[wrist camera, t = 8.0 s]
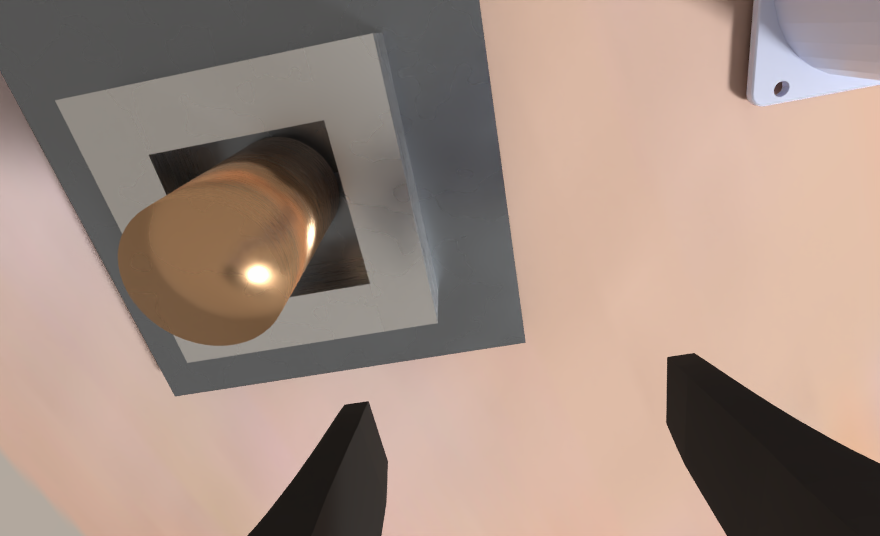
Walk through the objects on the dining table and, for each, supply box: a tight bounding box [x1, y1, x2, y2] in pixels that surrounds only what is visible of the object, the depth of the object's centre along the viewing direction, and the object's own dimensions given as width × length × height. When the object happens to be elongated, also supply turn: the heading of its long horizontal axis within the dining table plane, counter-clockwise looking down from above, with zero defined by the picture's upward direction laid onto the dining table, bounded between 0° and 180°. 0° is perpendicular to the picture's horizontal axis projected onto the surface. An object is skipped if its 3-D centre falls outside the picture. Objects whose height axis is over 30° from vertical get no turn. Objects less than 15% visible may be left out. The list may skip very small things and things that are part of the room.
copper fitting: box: [118, 137, 339, 346], centre depth 15 cm, size 4×4×7 cm
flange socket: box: [0, 0, 526, 396], centre depth 18 cm, size 16×16×4 cm
